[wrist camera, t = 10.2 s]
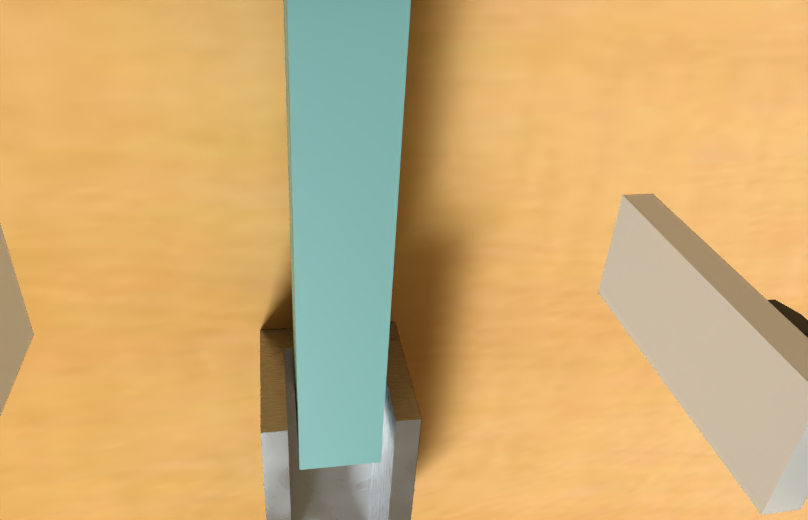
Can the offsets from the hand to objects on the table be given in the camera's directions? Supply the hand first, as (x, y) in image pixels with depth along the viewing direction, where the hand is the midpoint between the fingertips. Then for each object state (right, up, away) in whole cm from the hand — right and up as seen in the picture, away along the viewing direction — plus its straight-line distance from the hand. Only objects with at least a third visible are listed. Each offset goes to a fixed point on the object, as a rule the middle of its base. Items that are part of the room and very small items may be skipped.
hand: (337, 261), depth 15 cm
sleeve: (-3, -10, +27) cm, 29 cm away
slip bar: (-2, +4, +16) cm, 16 cm away
